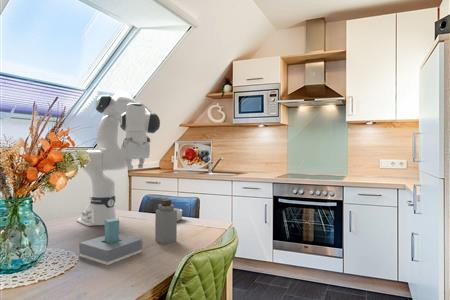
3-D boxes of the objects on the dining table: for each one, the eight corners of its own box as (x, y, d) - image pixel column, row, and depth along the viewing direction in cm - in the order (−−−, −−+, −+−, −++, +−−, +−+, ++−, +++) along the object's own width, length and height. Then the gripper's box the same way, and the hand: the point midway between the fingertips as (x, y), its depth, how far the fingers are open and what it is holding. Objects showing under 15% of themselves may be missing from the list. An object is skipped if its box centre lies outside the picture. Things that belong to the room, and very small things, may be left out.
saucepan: (182, 214, 188) (182, 205, 188) (182, 222, 168) (182, 212, 168) (163, 214, 187) (163, 205, 187) (160, 222, 167) (161, 212, 167)
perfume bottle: (155, 240, 136) (155, 199, 135) (168, 237, 140) (169, 198, 140) (162, 244, 130) (163, 201, 130) (176, 241, 135) (176, 200, 135)
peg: (104, 251, 118) (104, 219, 118) (114, 248, 121) (115, 218, 120) (108, 253, 115) (108, 221, 115) (118, 251, 118) (119, 220, 117)
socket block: (79, 256, 115) (79, 242, 115) (114, 244, 129) (114, 232, 129) (107, 265, 107) (107, 250, 107) (141, 251, 120) (142, 239, 120)
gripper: (130, 137, 128) (129, 170, 128) (152, 139, 148) (151, 167, 148) (116, 137, 130) (116, 170, 130) (140, 139, 150) (139, 167, 150)
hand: (135, 169), depth 139 cm, fingers open, 8 cm apart
